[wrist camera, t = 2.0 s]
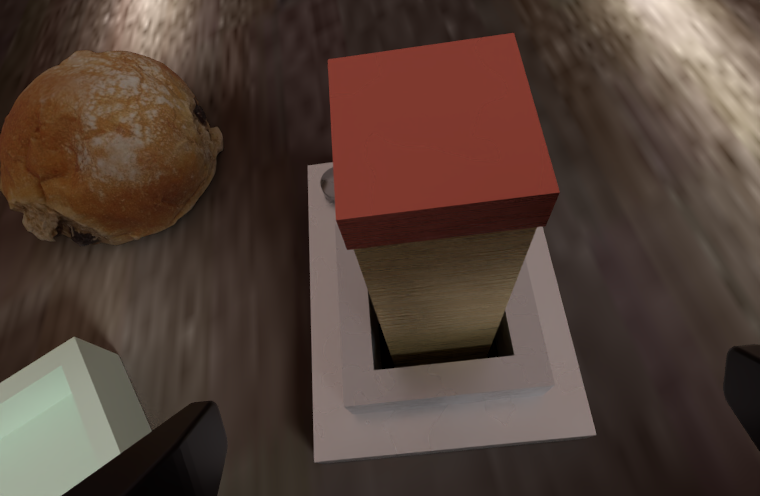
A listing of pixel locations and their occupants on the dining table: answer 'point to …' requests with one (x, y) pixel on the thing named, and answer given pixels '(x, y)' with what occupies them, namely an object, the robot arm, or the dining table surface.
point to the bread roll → (106, 149)
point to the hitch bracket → (434, 381)
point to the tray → (65, 419)
